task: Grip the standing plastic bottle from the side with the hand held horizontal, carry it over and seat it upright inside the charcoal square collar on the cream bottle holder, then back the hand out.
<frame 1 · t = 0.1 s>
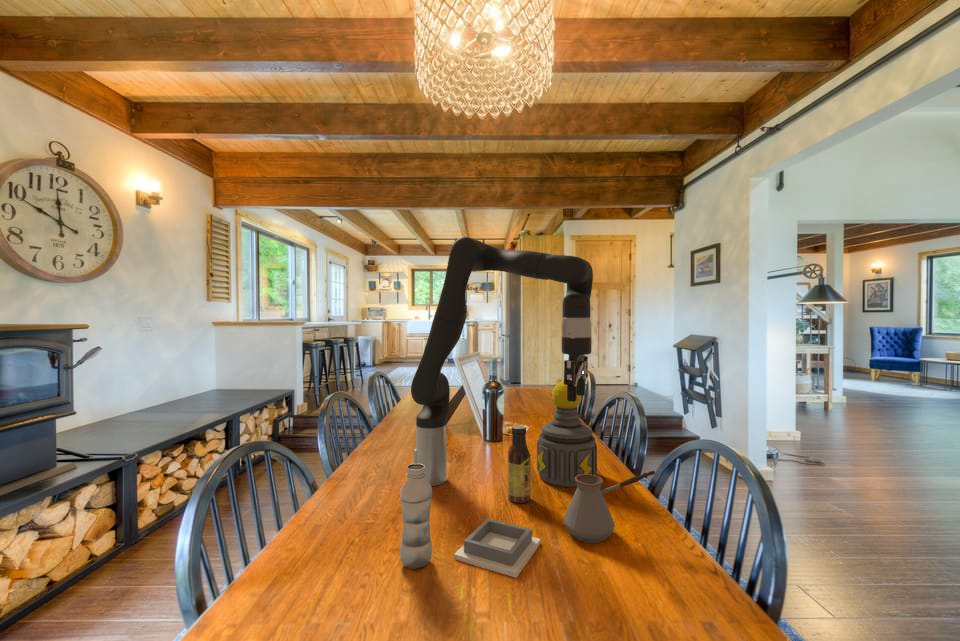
hand: (576, 398, 110), 29 cm above the table, tool pointing down, fingers open, 8 cm apart
decorative lamp: (566, 477, 134), on the table
bottle holder: (498, 550, 92), on the table
plastic bottle: (416, 564, 87), on the table
sauce bottle: (519, 499, 118), on the table
coffee pot: (610, 535, 98), on the table
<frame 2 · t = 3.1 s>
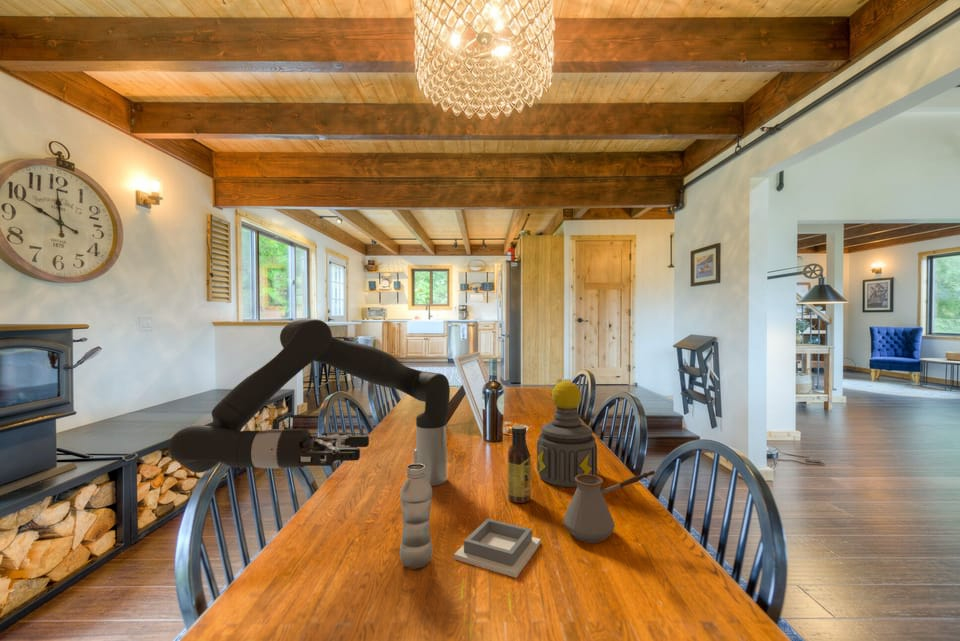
hand: (364, 447, 86), 24 cm above the table, tool horizontal, fingers open, 8 cm apart
nothing on the table moved.
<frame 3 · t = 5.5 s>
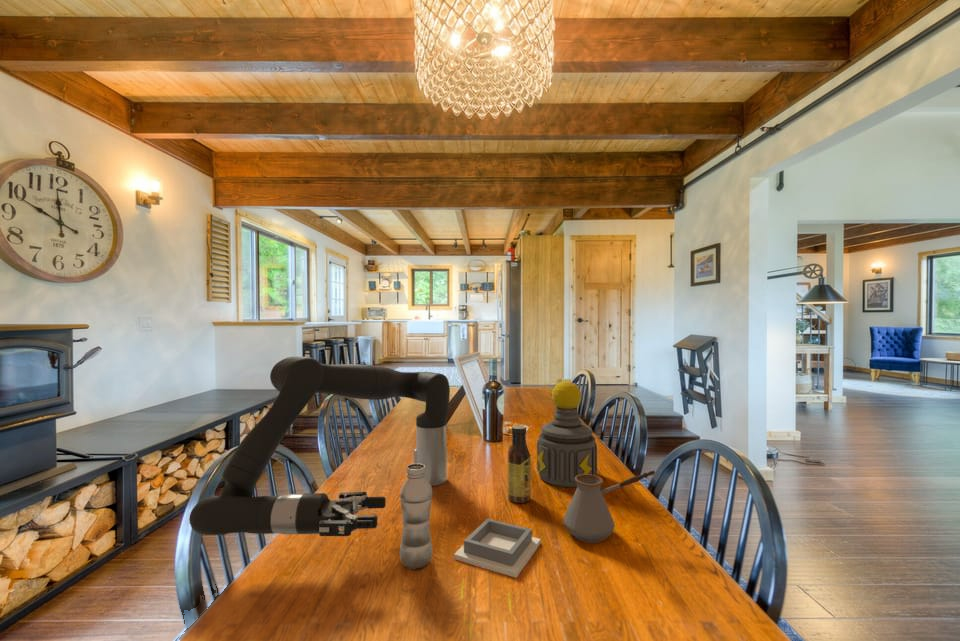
hand: (381, 511, 87), 11 cm above the table, tool horizontal, fingers open, 8 cm apart
nothing on the table moved.
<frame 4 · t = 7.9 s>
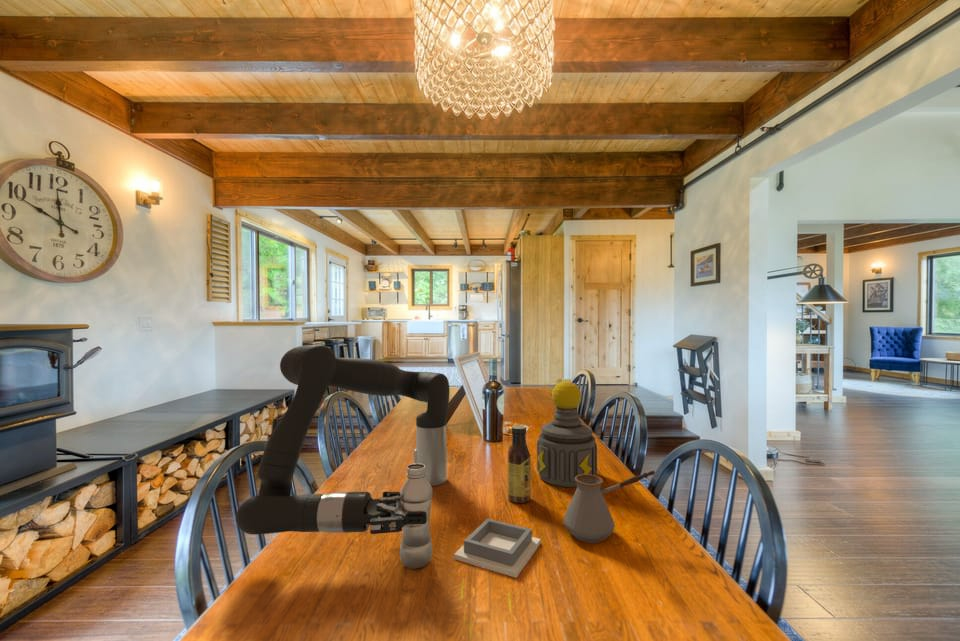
hand: (427, 509, 87), 11 cm above the table, tool horizontal, fingers closed on plastic bottle, 6 cm apart
plastic bottle: (416, 564, 87), on the table, touching gripper
everything else where it was.
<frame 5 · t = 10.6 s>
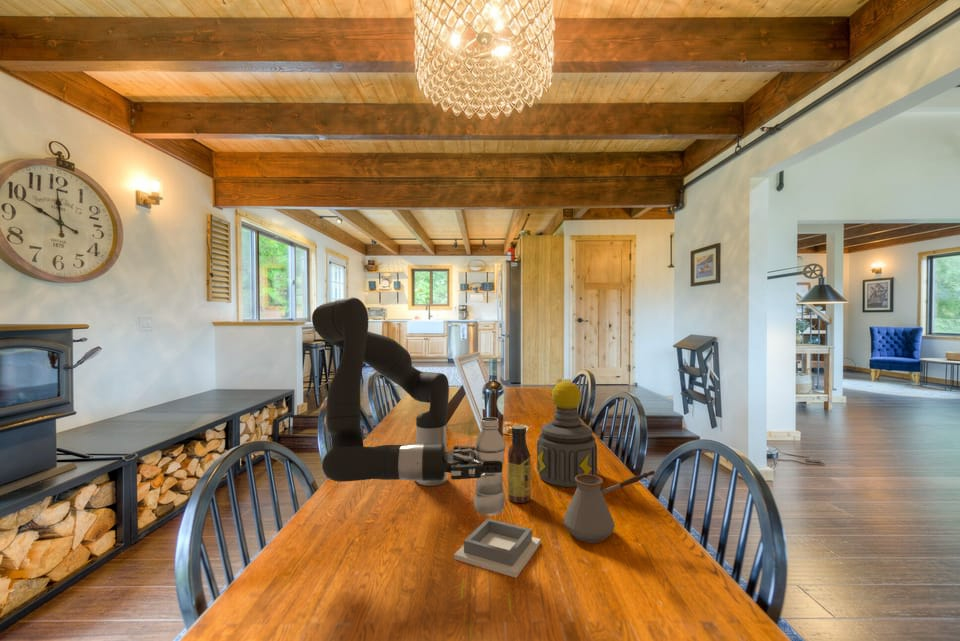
hand: (500, 461, 91), 20 cm above the table, tool horizontal, fingers closed on plastic bottle, 6 cm apart
plastic bottle: (489, 513, 91), point 8 cm above the table, touching gripper
everything else where it was.
when the fingers open (13 cm above the table, at t = 13.3 s): plastic bottle drops 1 cm, resting on bottle holder.
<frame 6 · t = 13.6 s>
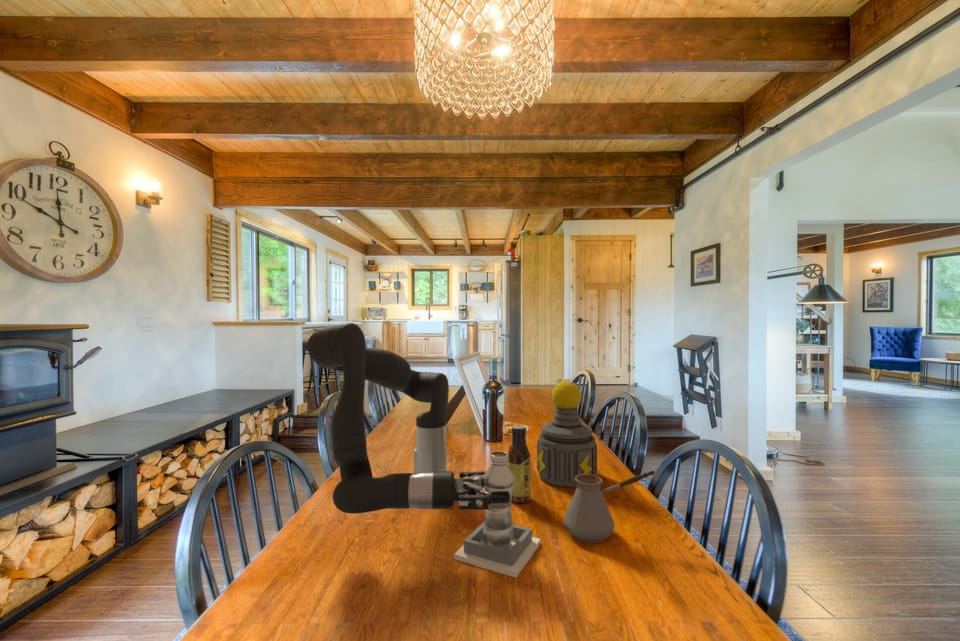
hand: (507, 488, 92), 13 cm above the table, tool horizontal, fingers open, 8 cm apart
plastic bottle: (498, 547, 92), point 1 cm above the table, touching bottle holder
everything else where it was.
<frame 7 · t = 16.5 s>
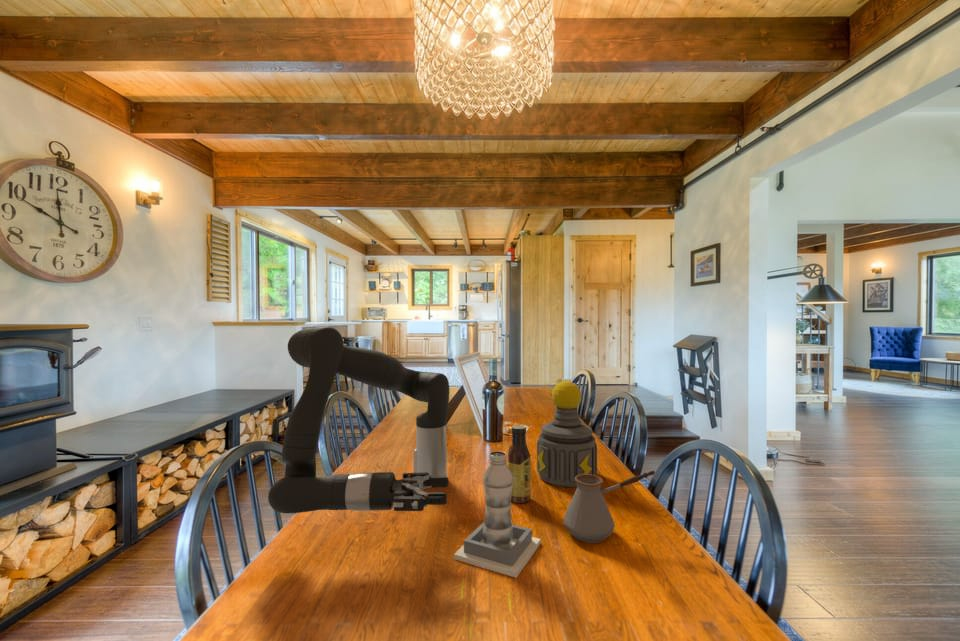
hand: (447, 489, 91), 14 cm above the table, tool horizontal, fingers open, 8 cm apart
nothing on the table moved.
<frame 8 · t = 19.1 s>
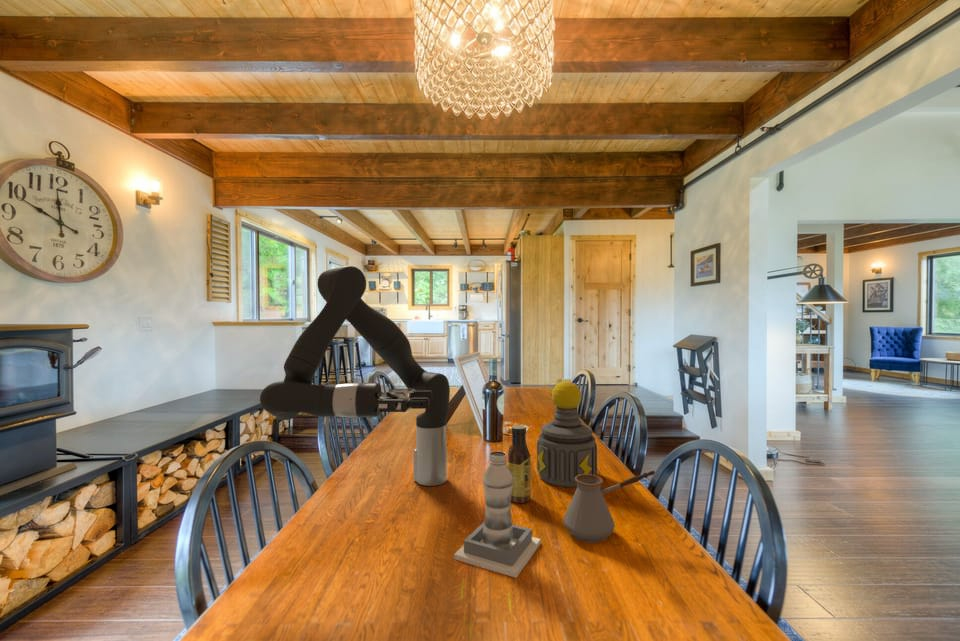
hand: (430, 399, 96), 32 cm above the table, tool horizontal, fingers open, 8 cm apart
nothing on the table moved.
at the end: plastic bottle 0.1 cm off-centre on the bottle holder, point 0.8 cm above the bottle holder's base; plastic bottle tilted 0°; the gripper is holding nothing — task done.
